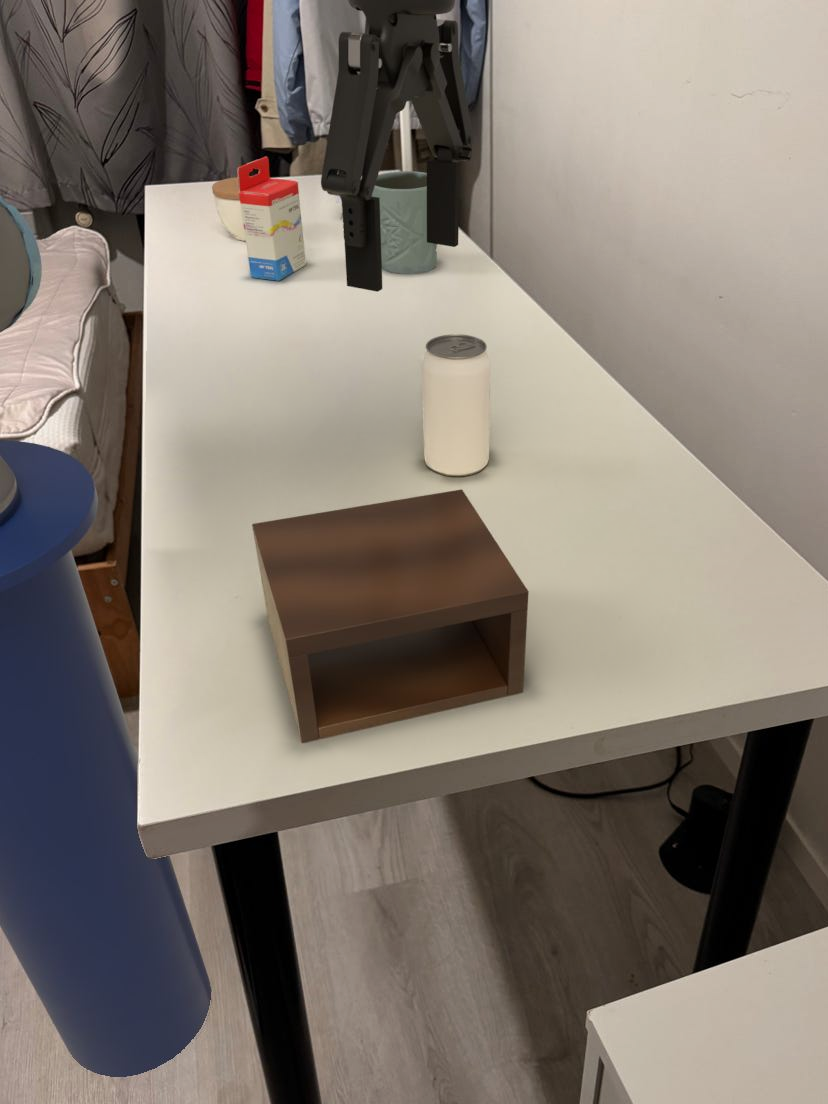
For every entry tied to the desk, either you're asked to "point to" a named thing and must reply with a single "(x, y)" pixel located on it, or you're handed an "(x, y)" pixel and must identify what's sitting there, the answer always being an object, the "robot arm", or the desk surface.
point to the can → (456, 404)
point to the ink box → (270, 222)
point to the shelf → (390, 612)
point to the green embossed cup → (404, 222)
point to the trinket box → (229, 206)
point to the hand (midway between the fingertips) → (406, 264)
